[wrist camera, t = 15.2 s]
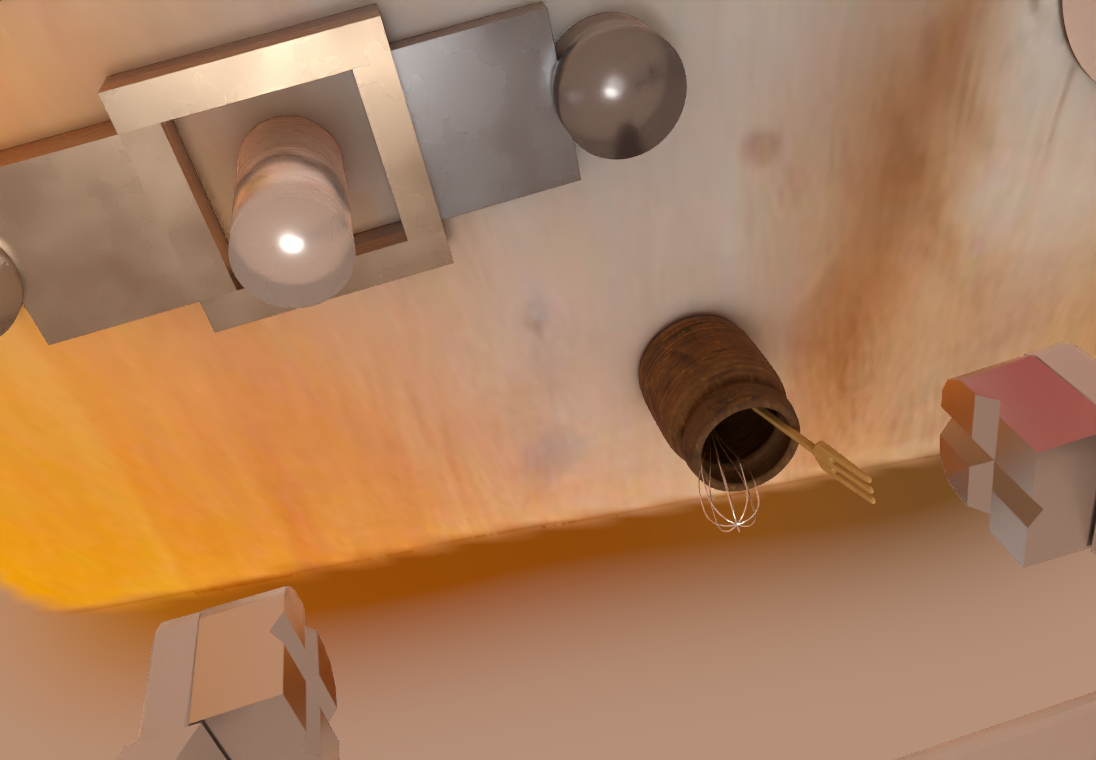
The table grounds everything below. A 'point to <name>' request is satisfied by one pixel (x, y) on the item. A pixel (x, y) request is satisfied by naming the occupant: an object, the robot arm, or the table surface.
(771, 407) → the utensil holder
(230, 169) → the table surface
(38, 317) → the upper chain link
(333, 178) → the steel pin
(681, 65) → the lower chain link
